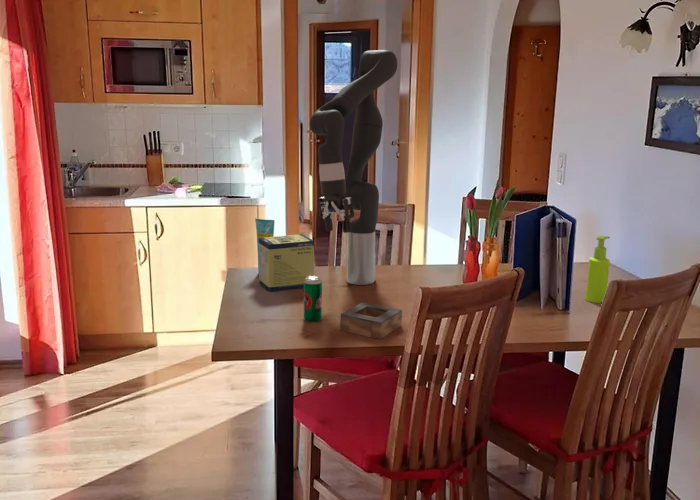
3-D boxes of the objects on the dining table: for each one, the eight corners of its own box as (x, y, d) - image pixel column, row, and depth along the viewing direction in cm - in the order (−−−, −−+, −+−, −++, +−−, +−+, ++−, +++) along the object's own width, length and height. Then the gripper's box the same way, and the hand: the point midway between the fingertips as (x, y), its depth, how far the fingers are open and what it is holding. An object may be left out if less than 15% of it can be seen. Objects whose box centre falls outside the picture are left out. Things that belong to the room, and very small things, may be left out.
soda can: (319, 323, 188) (319, 281, 185) (301, 321, 188) (301, 280, 186) (323, 317, 192) (323, 276, 190) (306, 315, 193) (306, 275, 190)
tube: (253, 274, 234) (251, 219, 230) (259, 271, 239) (257, 217, 234) (273, 276, 232) (272, 221, 228) (278, 272, 237) (277, 218, 232)
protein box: (314, 286, 221) (314, 239, 218) (269, 292, 215) (268, 244, 211) (302, 278, 231) (302, 233, 227) (258, 283, 224) (257, 237, 220)
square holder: (363, 317, 192) (363, 302, 191) (401, 325, 186) (402, 309, 185) (340, 330, 182) (340, 313, 181) (380, 339, 176) (380, 322, 175)
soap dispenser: (609, 299, 212) (616, 236, 207) (600, 304, 207) (607, 240, 202) (591, 295, 216) (597, 233, 211) (582, 300, 211) (588, 236, 206)
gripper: (357, 176, 201) (362, 230, 204) (328, 176, 212) (333, 228, 215) (337, 179, 197) (342, 235, 200) (308, 179, 208) (314, 232, 211)
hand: (337, 231), depth 207 cm, fingers open, 8 cm apart
